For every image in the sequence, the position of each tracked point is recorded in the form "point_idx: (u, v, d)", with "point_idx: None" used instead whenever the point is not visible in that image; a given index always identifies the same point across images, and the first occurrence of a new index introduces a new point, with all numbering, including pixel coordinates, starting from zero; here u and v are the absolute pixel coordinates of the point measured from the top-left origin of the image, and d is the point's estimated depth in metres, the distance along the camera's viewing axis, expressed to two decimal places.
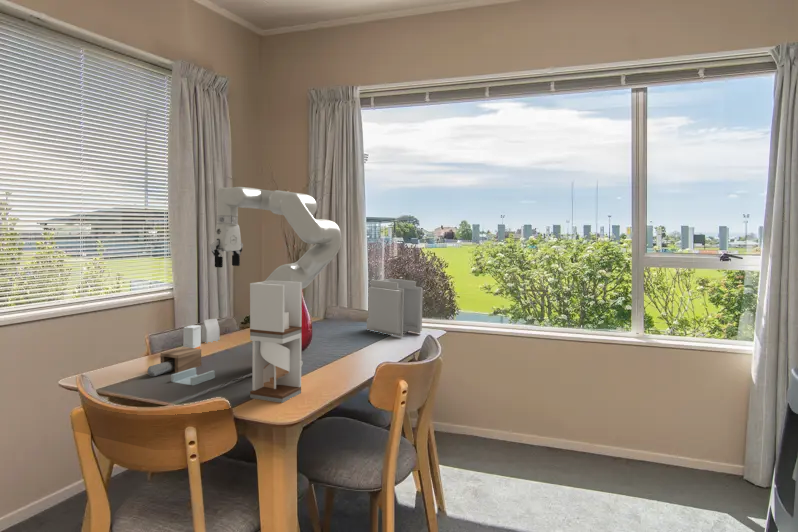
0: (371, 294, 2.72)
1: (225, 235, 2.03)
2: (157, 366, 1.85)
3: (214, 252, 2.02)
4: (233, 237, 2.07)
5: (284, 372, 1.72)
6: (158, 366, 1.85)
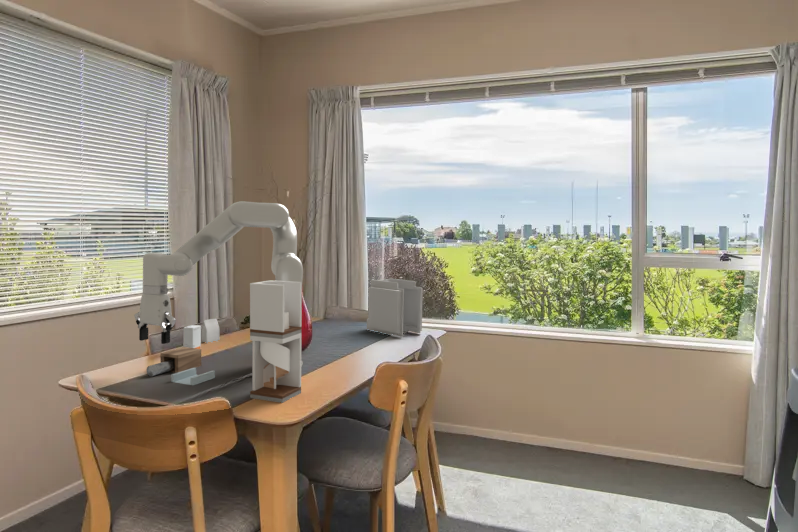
0: (371, 294, 2.72)
1: None
2: (155, 365, 1.85)
3: (171, 327, 1.82)
4: None
5: (284, 372, 1.72)
6: (156, 365, 1.85)
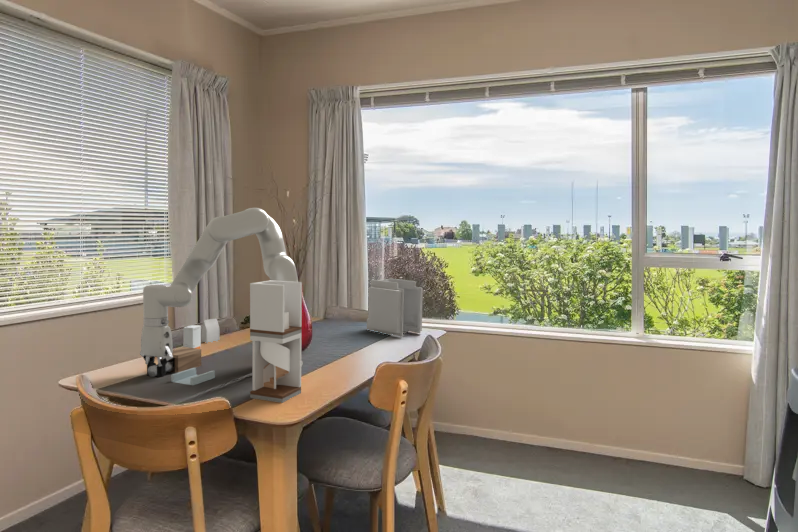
0: (371, 294, 2.72)
1: None
2: None
3: (167, 361, 1.84)
4: None
5: (284, 372, 1.72)
6: None
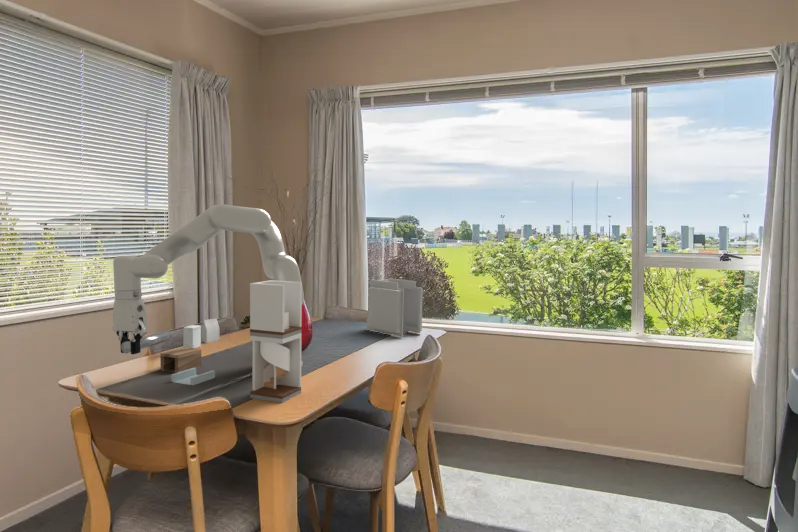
0: (371, 294, 2.72)
1: None
2: None
3: (141, 336, 1.73)
4: None
5: (284, 372, 1.72)
6: None
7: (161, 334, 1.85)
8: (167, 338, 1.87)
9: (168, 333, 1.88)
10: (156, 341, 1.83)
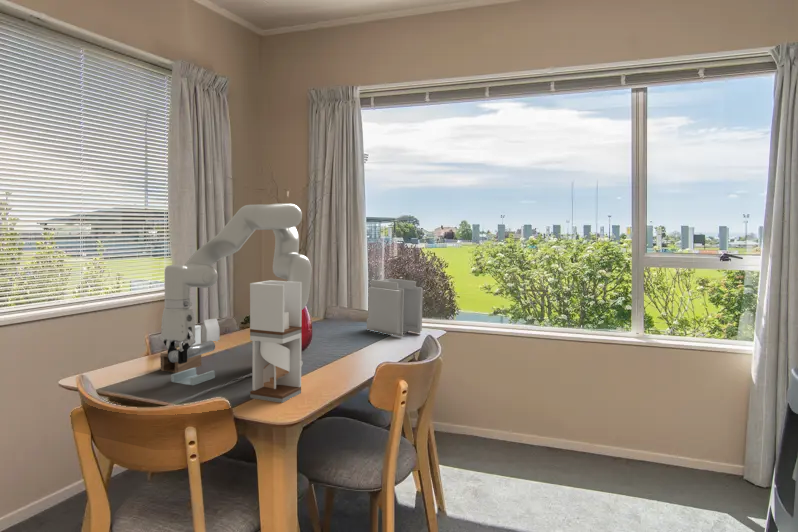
0: (371, 294, 2.72)
1: None
2: None
3: (189, 346, 1.73)
4: None
5: (284, 372, 1.72)
6: None
7: (206, 344, 1.85)
8: (211, 348, 1.86)
9: (212, 343, 1.87)
10: (202, 351, 1.82)
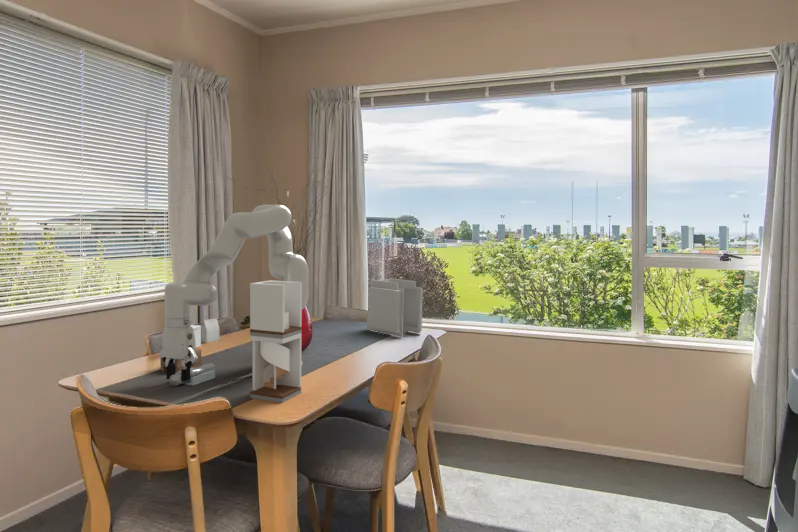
0: (371, 294, 2.72)
1: None
2: (179, 374, 1.75)
3: (192, 364, 1.73)
4: None
5: (284, 372, 1.72)
6: (180, 375, 1.75)
7: (206, 366, 1.85)
8: None
9: (213, 365, 1.88)
10: (202, 373, 1.83)
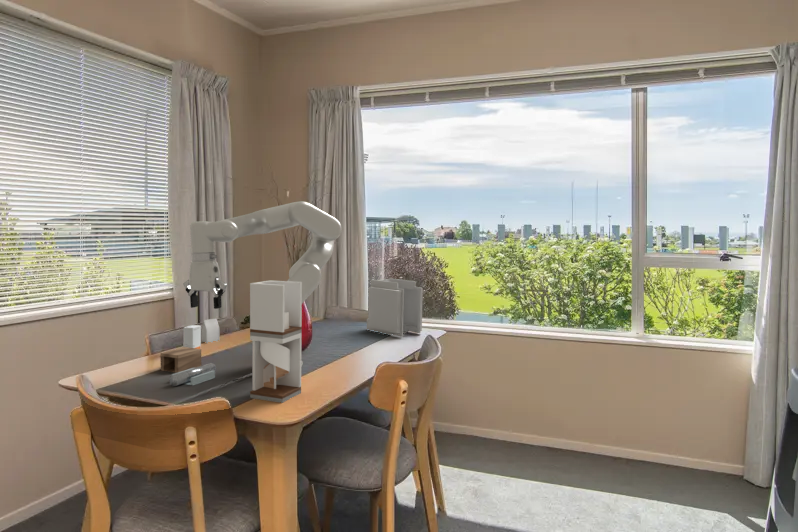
0: (371, 294, 2.72)
1: None
2: (179, 374, 1.75)
3: (223, 292, 1.87)
4: None
5: (284, 372, 1.72)
6: (180, 375, 1.75)
7: (207, 367, 1.85)
8: None
9: (213, 365, 1.88)
10: None
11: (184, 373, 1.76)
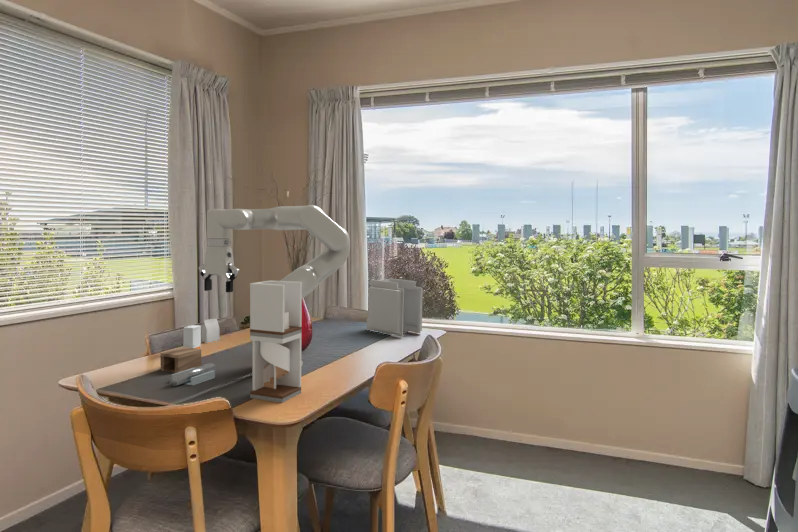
0: (371, 294, 2.72)
1: None
2: (179, 374, 1.75)
3: (235, 276, 1.96)
4: None
5: (284, 372, 1.72)
6: (180, 375, 1.75)
7: (207, 367, 1.85)
8: None
9: (213, 365, 1.88)
10: None
11: (184, 373, 1.76)
